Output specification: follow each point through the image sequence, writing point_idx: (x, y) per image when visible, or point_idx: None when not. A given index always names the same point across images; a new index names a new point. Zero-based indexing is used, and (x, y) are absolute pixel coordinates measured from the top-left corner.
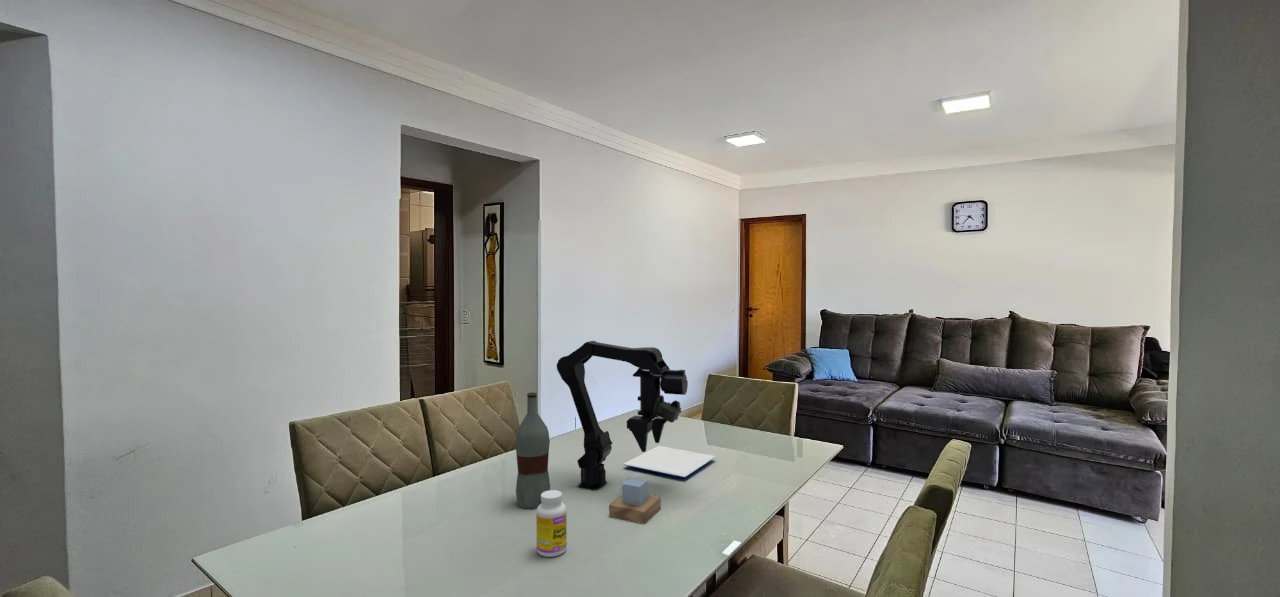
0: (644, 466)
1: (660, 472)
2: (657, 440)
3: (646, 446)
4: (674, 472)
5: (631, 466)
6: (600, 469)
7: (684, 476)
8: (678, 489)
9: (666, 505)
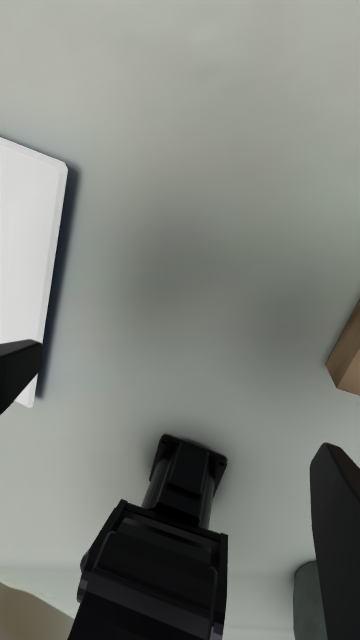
0: (9, 341)
1: (51, 280)
2: (26, 362)
3: (351, 484)
4: (15, 228)
5: (36, 382)
6: (189, 501)
7: (65, 166)
8: (163, 181)
9: (355, 204)
